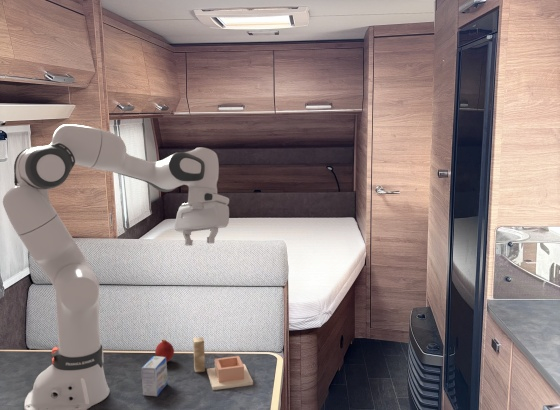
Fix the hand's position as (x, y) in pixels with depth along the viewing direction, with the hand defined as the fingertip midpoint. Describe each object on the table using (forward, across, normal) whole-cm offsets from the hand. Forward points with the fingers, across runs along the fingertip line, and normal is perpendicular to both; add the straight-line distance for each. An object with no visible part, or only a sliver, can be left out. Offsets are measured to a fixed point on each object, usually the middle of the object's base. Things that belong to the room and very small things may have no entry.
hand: (199, 244), depth 172 cm
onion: (+36, -21, +8) cm, 42 cm away
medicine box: (+43, -10, -4) cm, 44 cm away
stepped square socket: (+39, +2, +14) cm, 42 cm away
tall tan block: (+37, -9, +12) cm, 40 cm away
